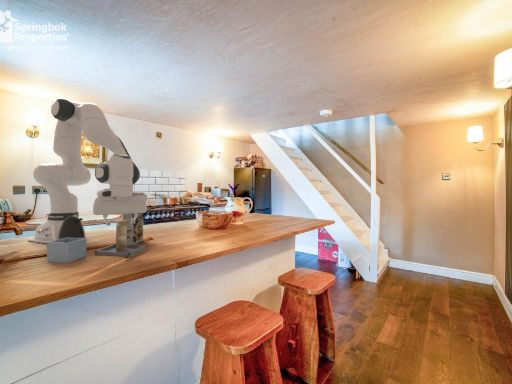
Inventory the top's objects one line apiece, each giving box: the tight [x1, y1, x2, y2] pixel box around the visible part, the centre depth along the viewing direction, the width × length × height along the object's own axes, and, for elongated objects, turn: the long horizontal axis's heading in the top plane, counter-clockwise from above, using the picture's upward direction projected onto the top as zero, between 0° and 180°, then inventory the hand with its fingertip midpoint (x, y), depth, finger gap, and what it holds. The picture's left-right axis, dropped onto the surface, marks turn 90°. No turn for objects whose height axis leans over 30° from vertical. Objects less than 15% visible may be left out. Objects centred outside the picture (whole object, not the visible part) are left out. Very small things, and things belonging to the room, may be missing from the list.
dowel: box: [115, 219, 127, 252], centre depth 105 cm, size 4×4×13 cm
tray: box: [94, 243, 147, 259], centre depth 105 cm, size 15×12×2 cm
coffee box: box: [122, 213, 144, 245], centre depth 123 cm, size 9×6×16 cm
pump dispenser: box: [57, 216, 87, 240], centre depth 108 cm, size 10×10×15 cm
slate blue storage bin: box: [46, 237, 87, 264], centre depth 93 cm, size 8×8×8 cm
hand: (120, 224), depth 105 cm, fingers open, 8 cm apart
